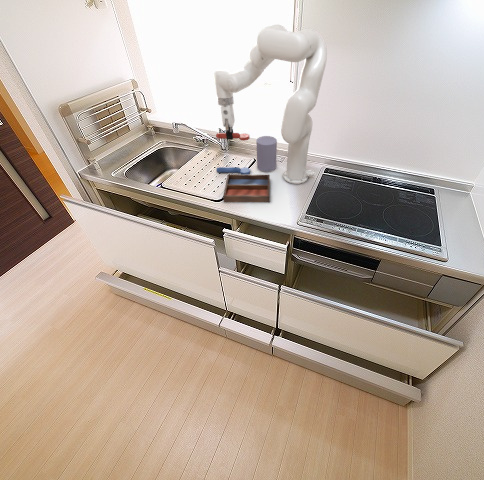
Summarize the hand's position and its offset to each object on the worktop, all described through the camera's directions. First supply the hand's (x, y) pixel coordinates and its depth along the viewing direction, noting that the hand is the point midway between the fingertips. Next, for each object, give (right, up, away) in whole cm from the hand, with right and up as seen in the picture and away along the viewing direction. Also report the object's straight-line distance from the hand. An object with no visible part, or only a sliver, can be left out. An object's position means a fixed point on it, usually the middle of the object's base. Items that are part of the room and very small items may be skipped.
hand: (230, 137), depth 138 cm
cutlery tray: (+11, -31, -12) cm, 34 cm away
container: (+19, -15, +4) cm, 25 cm away
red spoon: (+1, 0, 0) cm, 1 cm away
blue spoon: (+1, -19, -1) cm, 19 cm away
